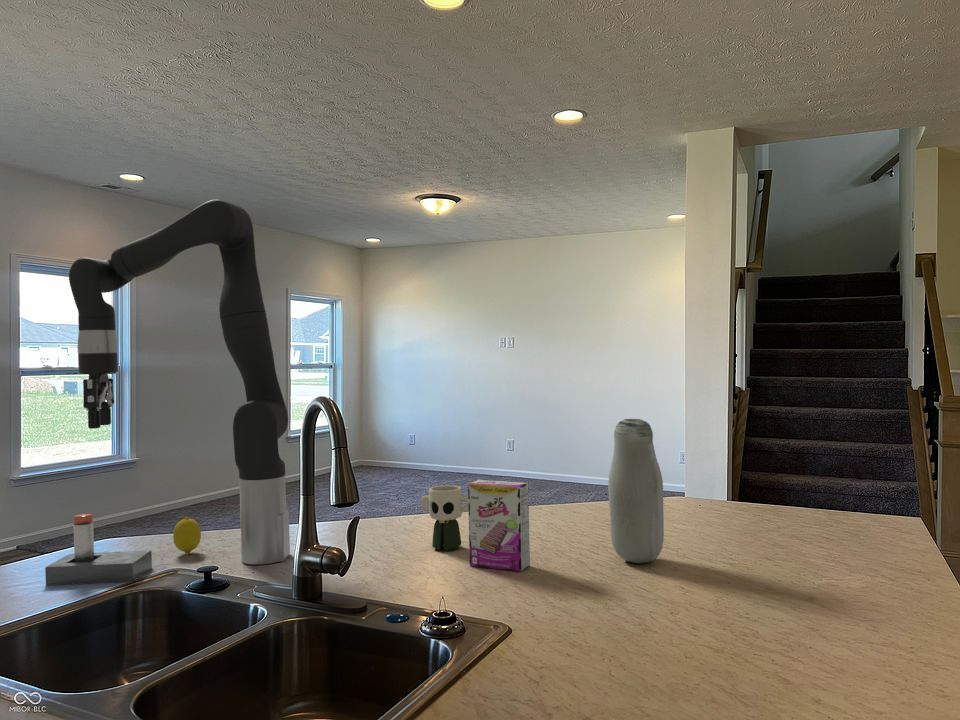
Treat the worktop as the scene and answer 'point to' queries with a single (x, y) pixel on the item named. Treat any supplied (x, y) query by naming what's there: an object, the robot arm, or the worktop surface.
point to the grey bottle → (635, 493)
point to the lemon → (187, 535)
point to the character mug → (445, 514)
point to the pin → (83, 538)
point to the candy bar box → (499, 525)
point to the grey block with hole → (99, 568)
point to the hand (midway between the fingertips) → (100, 426)
